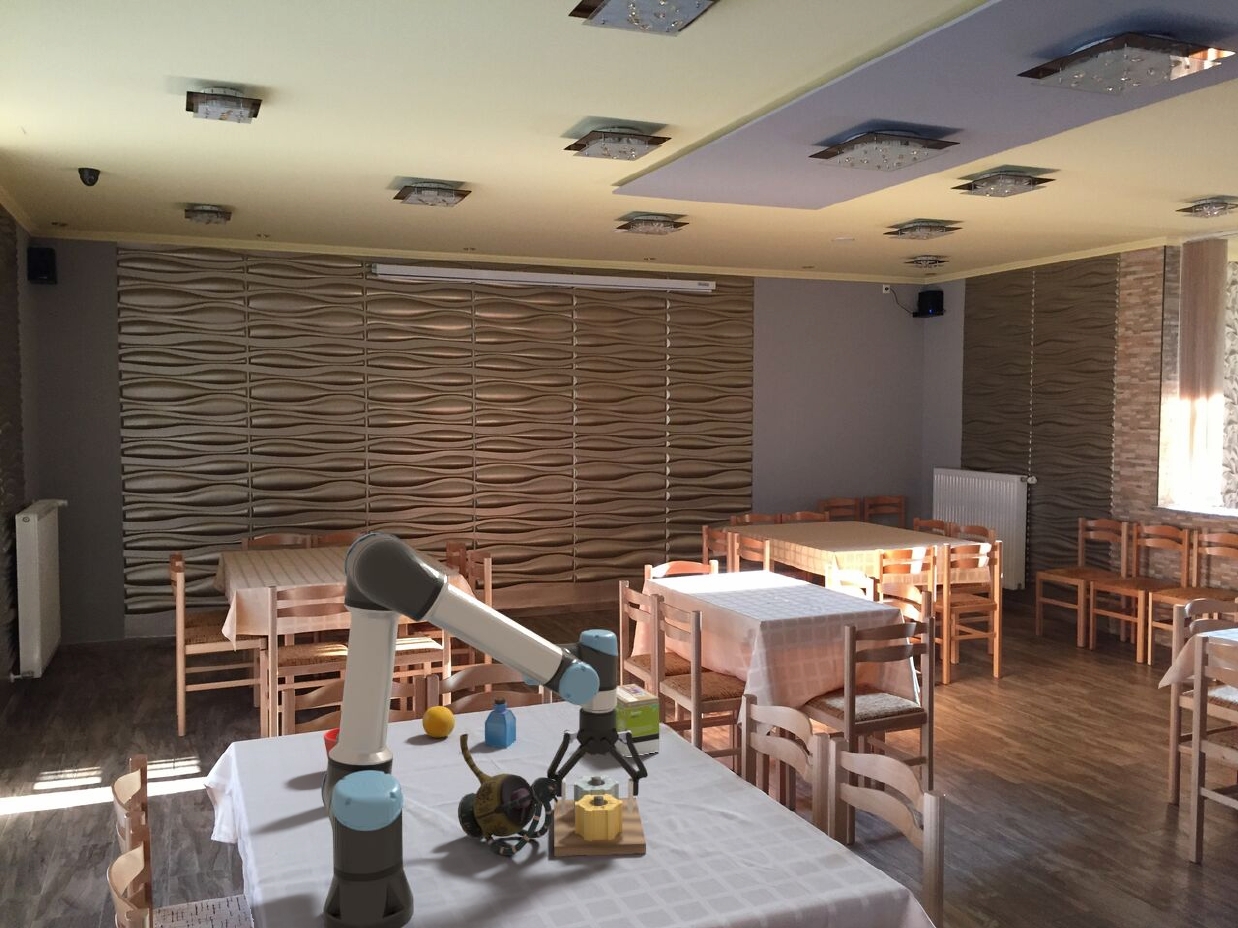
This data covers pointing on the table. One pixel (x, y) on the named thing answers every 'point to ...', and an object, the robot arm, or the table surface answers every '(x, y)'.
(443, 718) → the fruit
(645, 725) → the tea box
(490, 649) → the robot arm
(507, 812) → the teapot
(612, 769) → the table surface
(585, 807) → the ochre gear
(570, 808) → the gear board
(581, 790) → the pale grey gear
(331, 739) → the flower pot
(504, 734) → the perfume bottle
